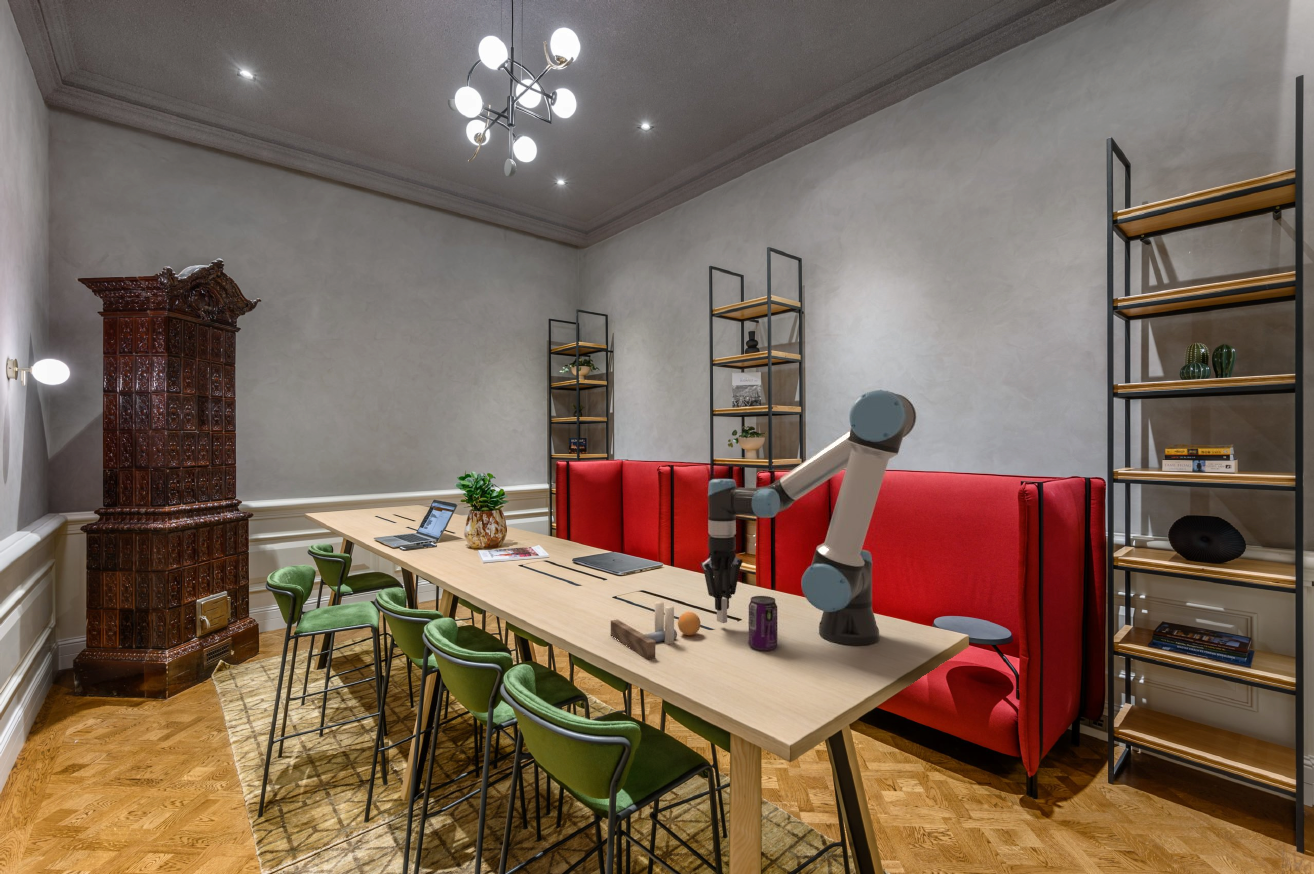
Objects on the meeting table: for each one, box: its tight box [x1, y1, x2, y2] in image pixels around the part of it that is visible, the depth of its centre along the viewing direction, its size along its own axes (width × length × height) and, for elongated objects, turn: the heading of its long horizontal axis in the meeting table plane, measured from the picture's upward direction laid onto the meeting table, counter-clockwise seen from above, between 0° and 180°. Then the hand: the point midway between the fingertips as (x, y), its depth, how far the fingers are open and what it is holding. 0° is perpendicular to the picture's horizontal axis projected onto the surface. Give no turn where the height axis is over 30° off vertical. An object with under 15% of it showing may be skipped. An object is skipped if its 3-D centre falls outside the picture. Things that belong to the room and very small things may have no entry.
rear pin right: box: [654, 601, 665, 633], centre depth 155 cm, size 2×2×9 cm
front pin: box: [644, 628, 678, 643], centre depth 152 cm, size 2×2×9 cm
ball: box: [677, 611, 701, 636], centre depth 157 cm, size 6×6×6 cm
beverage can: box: [748, 595, 779, 651], centre depth 147 cm, size 7×7×12 cm
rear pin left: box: [664, 605, 675, 645], centre depth 150 cm, size 2×2×9 cm
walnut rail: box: [610, 618, 656, 661], centre depth 148 cm, size 20×2×4 cm, turn 30°
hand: (722, 621), depth 162 cm, fingers closed
